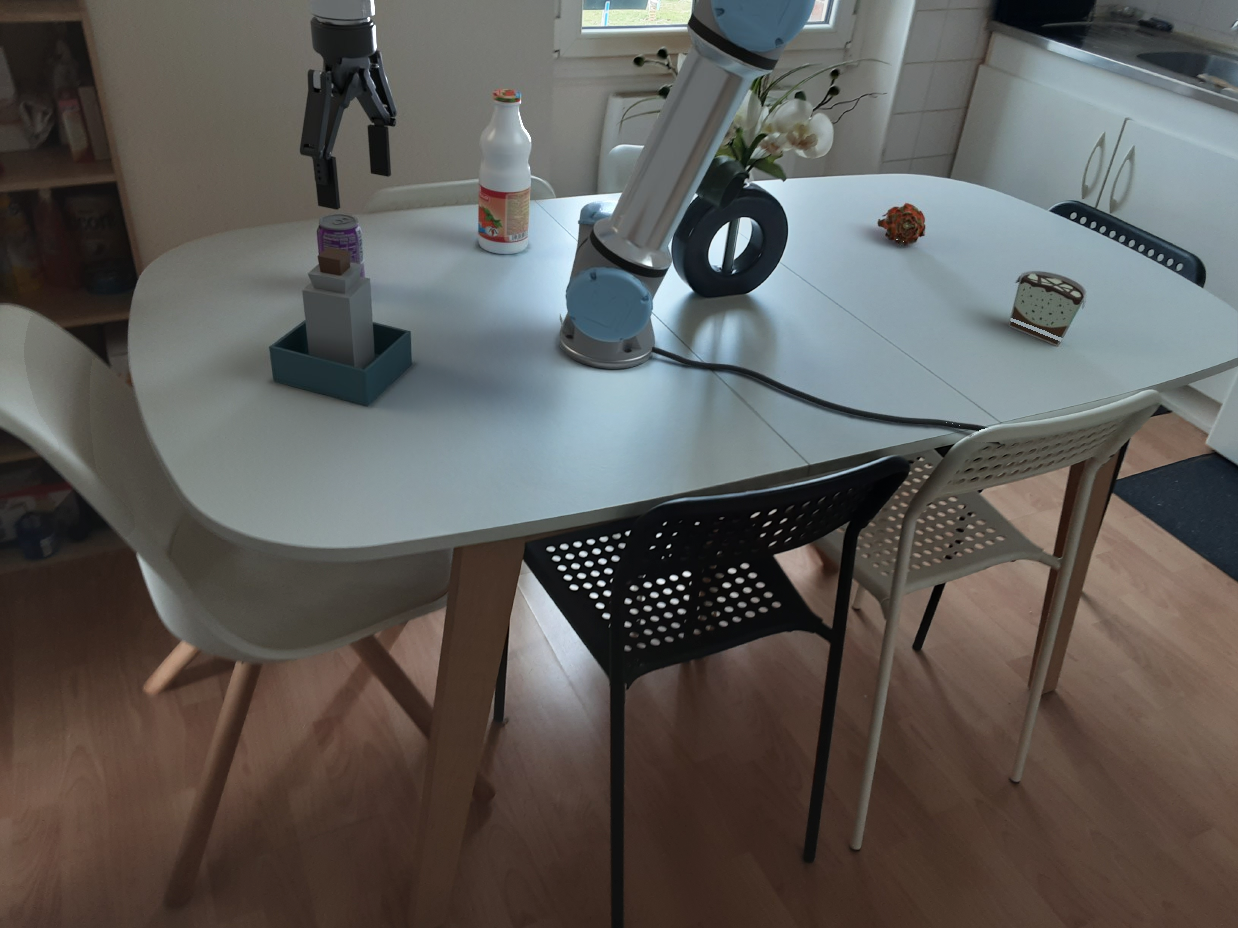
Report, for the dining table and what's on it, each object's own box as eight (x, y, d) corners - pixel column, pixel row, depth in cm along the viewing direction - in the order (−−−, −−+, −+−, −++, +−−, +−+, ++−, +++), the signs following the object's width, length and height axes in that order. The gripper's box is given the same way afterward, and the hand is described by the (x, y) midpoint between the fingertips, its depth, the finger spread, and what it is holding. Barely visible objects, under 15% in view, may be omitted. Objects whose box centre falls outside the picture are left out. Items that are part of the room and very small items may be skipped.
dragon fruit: (907, 261, 199) (881, 245, 210) (942, 237, 199) (914, 222, 209) (891, 227, 195) (865, 213, 205) (927, 202, 194) (899, 189, 205)
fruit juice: (530, 256, 180) (536, 102, 164) (478, 255, 179) (480, 99, 162) (526, 235, 188) (532, 86, 171) (476, 234, 186) (478, 83, 170)
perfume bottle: (355, 384, 138) (346, 267, 127) (311, 375, 139) (298, 259, 128) (375, 362, 143) (368, 248, 133) (332, 353, 144) (321, 240, 134)
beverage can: (350, 276, 167) (346, 209, 160) (373, 291, 163) (369, 223, 156) (313, 286, 162) (307, 217, 155) (336, 302, 158) (330, 233, 152)
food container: (1079, 339, 173) (1100, 288, 167) (1065, 349, 169) (1087, 298, 164) (1014, 313, 180) (1033, 263, 174) (1000, 323, 176) (1018, 272, 170)
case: (412, 364, 145) (410, 331, 142) (367, 406, 135) (365, 371, 131) (323, 341, 148) (319, 308, 145) (273, 381, 138) (268, 346, 134)
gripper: (365, -4, 127) (376, 157, 139) (253, 32, 107) (277, 216, 119) (418, 5, 125) (424, 167, 138) (314, 42, 105) (332, 228, 118)
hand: (356, 190), depth 128 cm, fingers open, 13 cm apart
